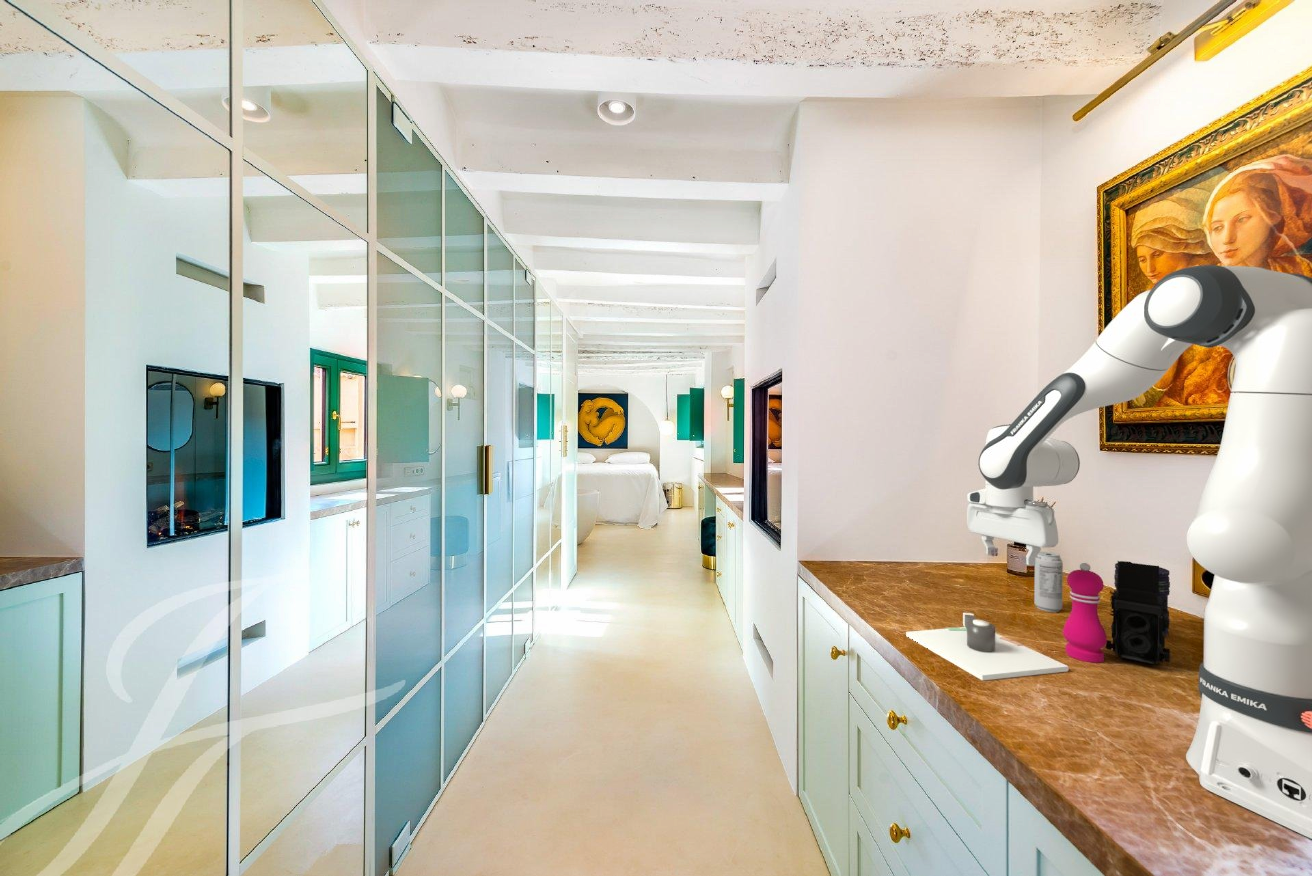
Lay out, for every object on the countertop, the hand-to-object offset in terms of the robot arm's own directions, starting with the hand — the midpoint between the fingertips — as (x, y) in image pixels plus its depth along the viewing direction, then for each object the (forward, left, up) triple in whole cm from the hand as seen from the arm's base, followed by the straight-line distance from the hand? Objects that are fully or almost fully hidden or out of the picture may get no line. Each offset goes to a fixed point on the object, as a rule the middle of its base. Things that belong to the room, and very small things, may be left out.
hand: (1009, 560), depth 114 cm
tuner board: (-1, +8, -20) cm, 21 cm away
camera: (-10, -22, -20) cm, 31 cm away
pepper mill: (-7, -12, -20) cm, 24 cm away
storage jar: (+3, -41, -20) cm, 46 cm away
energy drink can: (+19, -32, -20) cm, 42 cm away
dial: (+3, +6, -18) cm, 20 cm away
